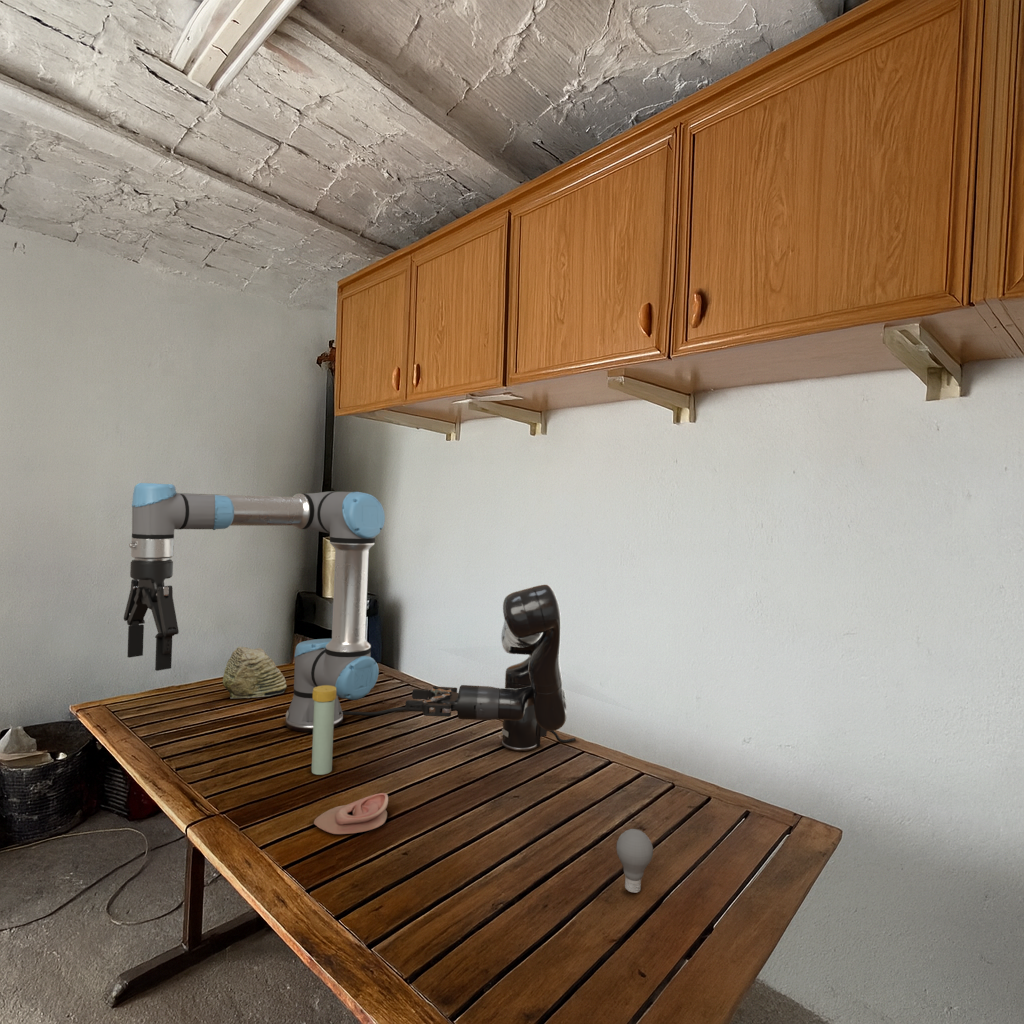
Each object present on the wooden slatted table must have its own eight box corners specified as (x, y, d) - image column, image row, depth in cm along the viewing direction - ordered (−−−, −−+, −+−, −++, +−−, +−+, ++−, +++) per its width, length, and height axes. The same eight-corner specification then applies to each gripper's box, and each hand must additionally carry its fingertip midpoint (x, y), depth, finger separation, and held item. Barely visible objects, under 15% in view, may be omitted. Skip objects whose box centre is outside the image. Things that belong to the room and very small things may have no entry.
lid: (311, 695, 148) (312, 686, 148) (335, 694, 149) (335, 684, 149) (313, 702, 143) (313, 692, 143) (337, 701, 145) (337, 691, 145)
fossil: (218, 695, 195) (220, 647, 195) (278, 685, 208) (279, 640, 207) (228, 703, 189) (230, 653, 188) (289, 692, 201) (290, 645, 201)
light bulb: (610, 879, 108) (613, 822, 108) (644, 879, 109) (647, 822, 109) (619, 902, 102) (622, 840, 102) (655, 901, 103) (658, 840, 103)
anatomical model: (306, 809, 120) (334, 783, 131) (305, 829, 120) (334, 802, 131) (371, 819, 117) (395, 791, 129) (370, 840, 117) (394, 811, 129)
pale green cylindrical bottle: (310, 767, 148) (313, 688, 147) (330, 765, 149) (333, 687, 149) (312, 775, 143) (315, 694, 143) (332, 773, 145) (335, 692, 145)
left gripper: (108, 554, 134) (104, 654, 134) (159, 565, 118) (155, 678, 119) (146, 552, 140) (143, 648, 140) (199, 563, 124) (195, 671, 124)
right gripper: (482, 678, 153) (415, 674, 153) (477, 695, 138) (403, 692, 139) (480, 709, 153) (413, 705, 153) (476, 730, 138) (402, 726, 139)
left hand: (148, 662), depth 129 cm, fingers open, 13 cm apart
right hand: (409, 699), depth 146 cm, fingers open, 8 cm apart
